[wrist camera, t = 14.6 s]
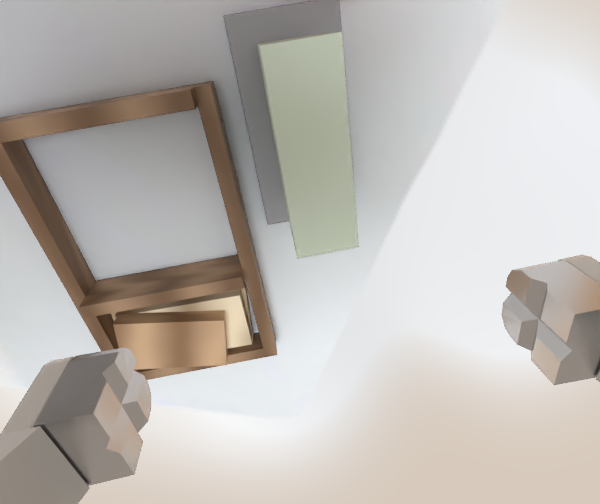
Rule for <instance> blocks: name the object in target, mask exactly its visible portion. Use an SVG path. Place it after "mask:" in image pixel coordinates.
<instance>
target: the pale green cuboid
mask: <svg viewBox="0 0 600 504" xmlns="http://www.w3.org/2000/svg"><path fill="white" fill-rule="evenodd" d="M257 47H258V53H259V58H260V64H261V69H262V75H263V81H264V86H265V92H266V97H267V103H268V108H269V114H270V119H271V125H272V131H273V136H274V142H275V147H276V153H277V158H278V164H279V170H280V175H281V181H282V186H283V192H284V197H285V203H286V207H287V212H288V217H289V221H290V226H291V231H292V235H293V240H294V245H295V250H296V254H297V258H303V257H308V256H313V255H319V254H324V253H329V252H335V251H340V250H345V249H351V248H356V247H359V244H358V231H357V218H356V205H355V192H354V179H353V166H352V153H351V140H350V127H349V114H348V101H347V88H346V75H345V62H344V49H343V36H342V32H336V33H325V34H315V35H308V36H302V37H296V38H290V39H285V40H279V41H273V42H267V43H261V44H257Z"/></svg>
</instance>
